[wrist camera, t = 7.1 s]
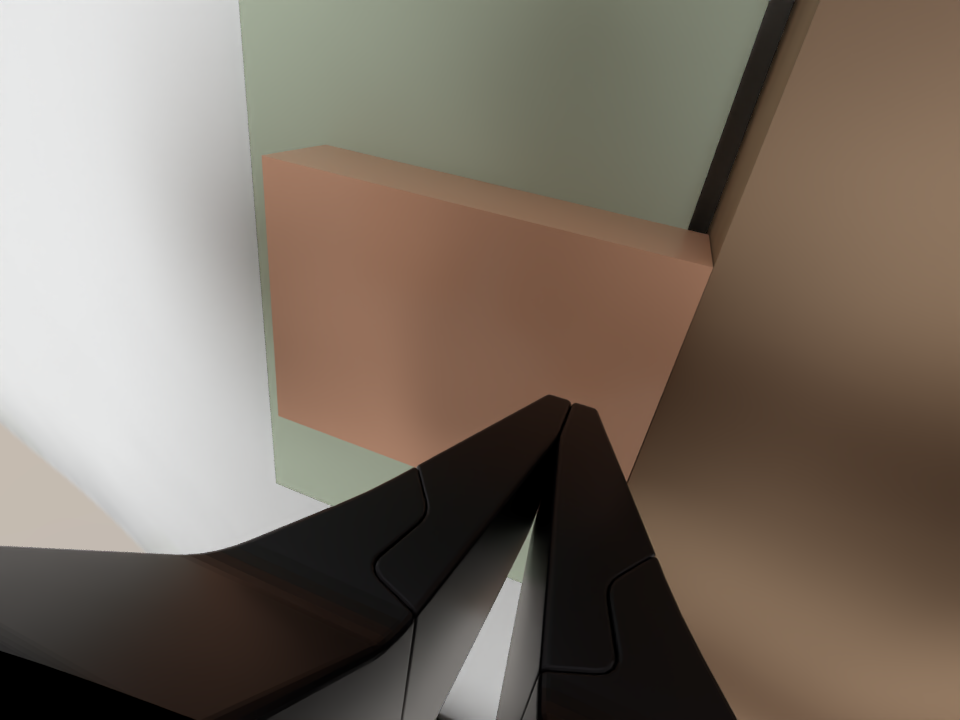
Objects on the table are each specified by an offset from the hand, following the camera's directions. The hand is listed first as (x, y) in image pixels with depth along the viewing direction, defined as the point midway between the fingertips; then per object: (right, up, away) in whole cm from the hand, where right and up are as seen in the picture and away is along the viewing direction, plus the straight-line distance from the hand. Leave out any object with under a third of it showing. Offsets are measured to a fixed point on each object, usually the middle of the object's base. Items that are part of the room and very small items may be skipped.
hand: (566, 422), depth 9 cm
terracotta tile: (-1, +2, +3) cm, 4 cm away
